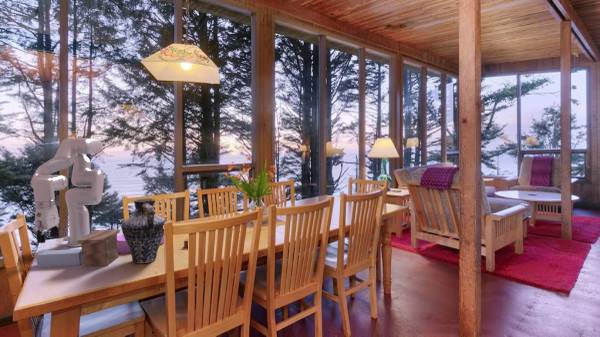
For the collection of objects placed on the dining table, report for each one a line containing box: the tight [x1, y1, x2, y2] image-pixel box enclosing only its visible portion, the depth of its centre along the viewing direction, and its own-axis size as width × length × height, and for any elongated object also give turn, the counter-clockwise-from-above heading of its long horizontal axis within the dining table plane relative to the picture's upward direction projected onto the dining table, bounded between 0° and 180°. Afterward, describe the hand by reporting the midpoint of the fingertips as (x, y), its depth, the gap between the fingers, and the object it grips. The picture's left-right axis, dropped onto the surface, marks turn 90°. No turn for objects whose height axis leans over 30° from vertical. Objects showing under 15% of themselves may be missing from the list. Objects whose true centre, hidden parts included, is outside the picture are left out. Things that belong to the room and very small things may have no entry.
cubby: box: [77, 229, 121, 268], centre depth 160 cm, size 11×17×13 cm, turn 5°
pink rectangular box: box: [117, 234, 165, 254], centre depth 184 cm, size 25×15×13 cm, turn 128°
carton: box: [183, 237, 189, 249], centre depth 190 cm, size 8×16×4 cm, turn 1°
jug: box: [121, 197, 167, 264], centre depth 161 cm, size 21×19×30 cm
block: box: [36, 248, 83, 268], centre depth 159 cm, size 18×6×6 cm, turn 98°
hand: (48, 239), depth 159 cm, fingers open, 9 cm apart
